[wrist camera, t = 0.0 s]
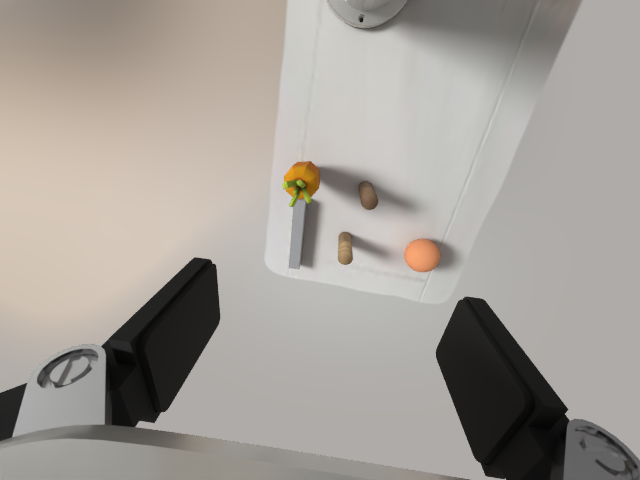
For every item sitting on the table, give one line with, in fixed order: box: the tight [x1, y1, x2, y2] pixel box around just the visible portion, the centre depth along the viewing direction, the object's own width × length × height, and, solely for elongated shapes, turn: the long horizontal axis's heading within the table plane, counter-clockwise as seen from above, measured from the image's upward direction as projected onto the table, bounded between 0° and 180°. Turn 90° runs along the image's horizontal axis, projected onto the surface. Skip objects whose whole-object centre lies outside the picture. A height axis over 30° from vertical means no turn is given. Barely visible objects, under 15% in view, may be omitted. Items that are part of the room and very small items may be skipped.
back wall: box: [289, 199, 307, 269], centre depth 48 cm, size 14×2×2 cm, turn 172°
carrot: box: [282, 161, 320, 207], centre depth 37 cm, size 5×5×15 cm
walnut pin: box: [359, 181, 378, 210], centre depth 41 cm, size 2×2×8 cm
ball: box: [405, 239, 440, 272], centre depth 46 cm, size 6×6×6 cm
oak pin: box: [338, 232, 353, 265], centre depth 45 cm, size 2×2×8 cm
